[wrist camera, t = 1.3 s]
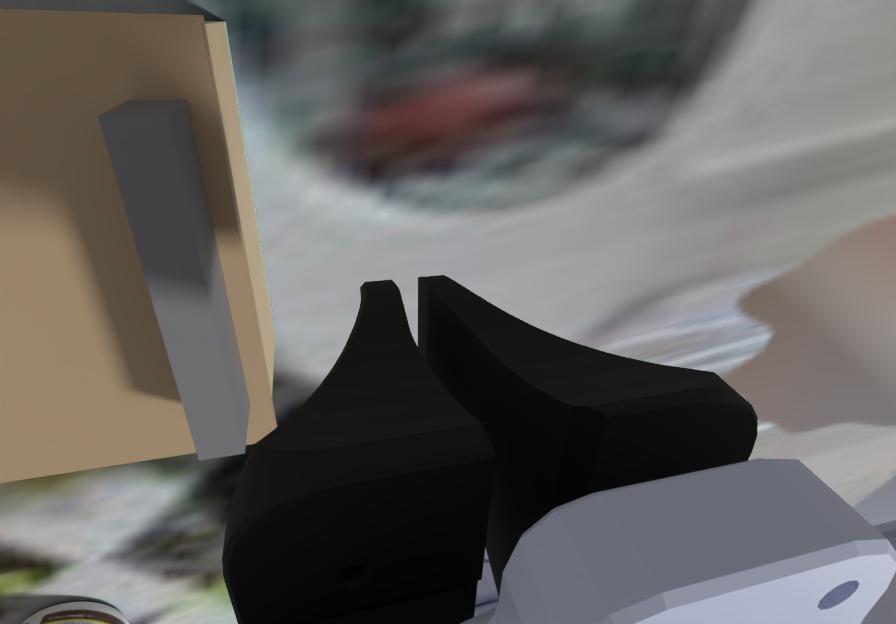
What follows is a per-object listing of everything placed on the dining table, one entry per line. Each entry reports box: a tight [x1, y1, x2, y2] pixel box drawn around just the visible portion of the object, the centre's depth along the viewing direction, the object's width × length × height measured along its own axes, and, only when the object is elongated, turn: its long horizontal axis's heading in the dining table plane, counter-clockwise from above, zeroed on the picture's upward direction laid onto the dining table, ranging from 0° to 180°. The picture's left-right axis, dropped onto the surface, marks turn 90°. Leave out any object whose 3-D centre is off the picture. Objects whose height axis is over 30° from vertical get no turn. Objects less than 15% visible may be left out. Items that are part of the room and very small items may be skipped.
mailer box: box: [205, 21, 275, 394], centre depth 16 cm, size 12×14×6 cm
